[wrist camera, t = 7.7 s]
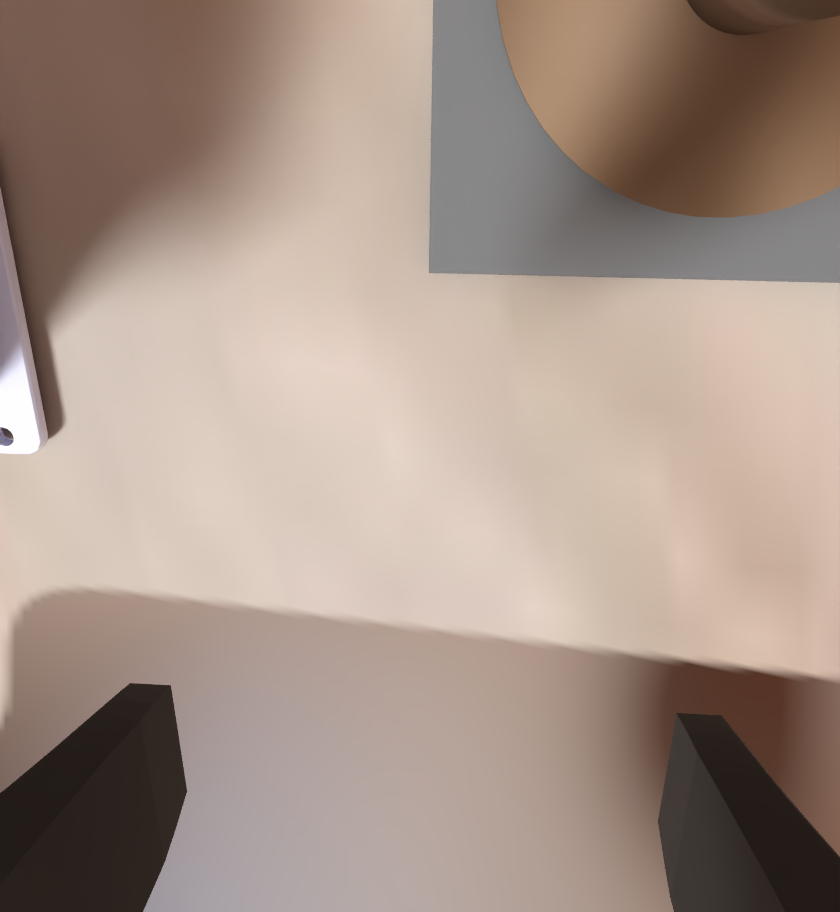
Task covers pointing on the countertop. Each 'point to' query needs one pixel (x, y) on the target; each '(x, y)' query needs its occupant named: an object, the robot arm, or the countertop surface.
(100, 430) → the countertop surface
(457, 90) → the mat
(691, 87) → the lid
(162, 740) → the robot arm
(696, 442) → the countertop surface
